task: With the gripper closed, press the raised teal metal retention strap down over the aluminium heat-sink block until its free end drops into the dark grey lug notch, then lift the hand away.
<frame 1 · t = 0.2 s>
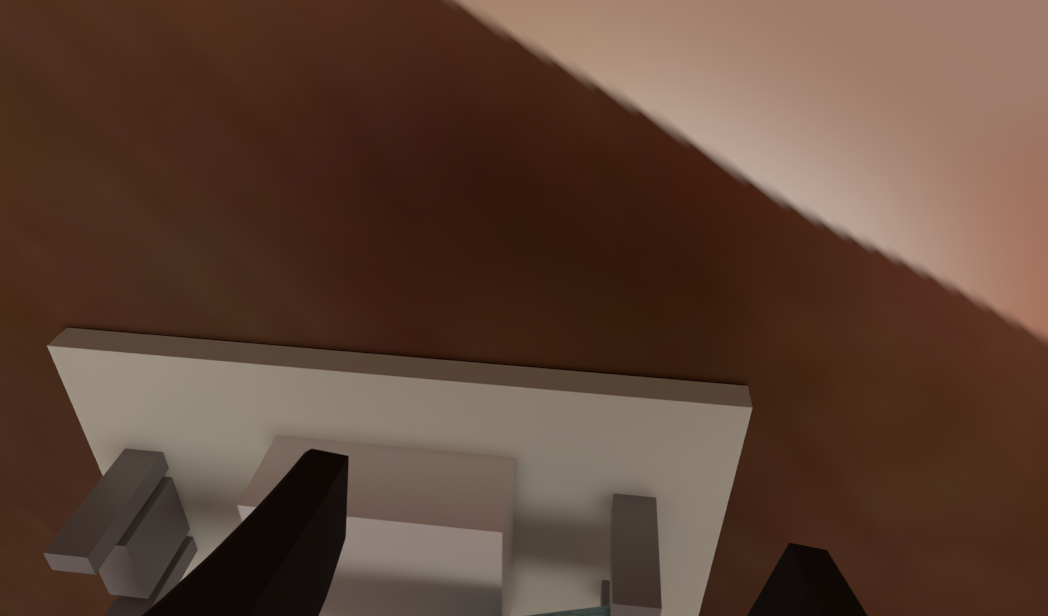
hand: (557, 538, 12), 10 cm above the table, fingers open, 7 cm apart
socket board: (409, 505, 27), on the table
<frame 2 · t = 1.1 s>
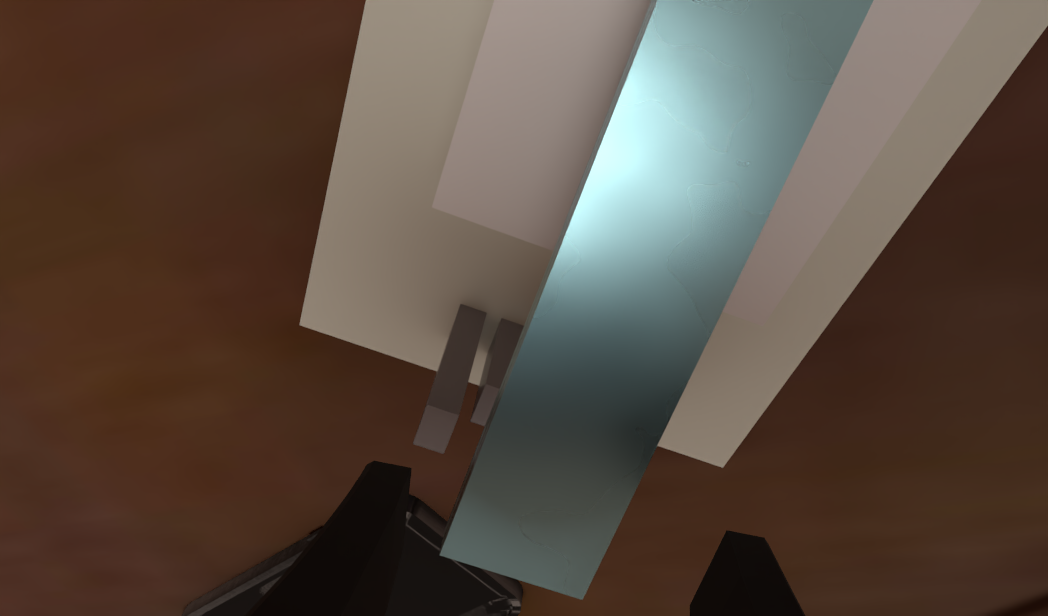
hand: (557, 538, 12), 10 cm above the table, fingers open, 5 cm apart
socket board: (668, 50, 18), on the table
retention strap: (692, 151, 12), point 7 cm above the table, hinge at 15.0°
phone: (348, 591, 32), on the table
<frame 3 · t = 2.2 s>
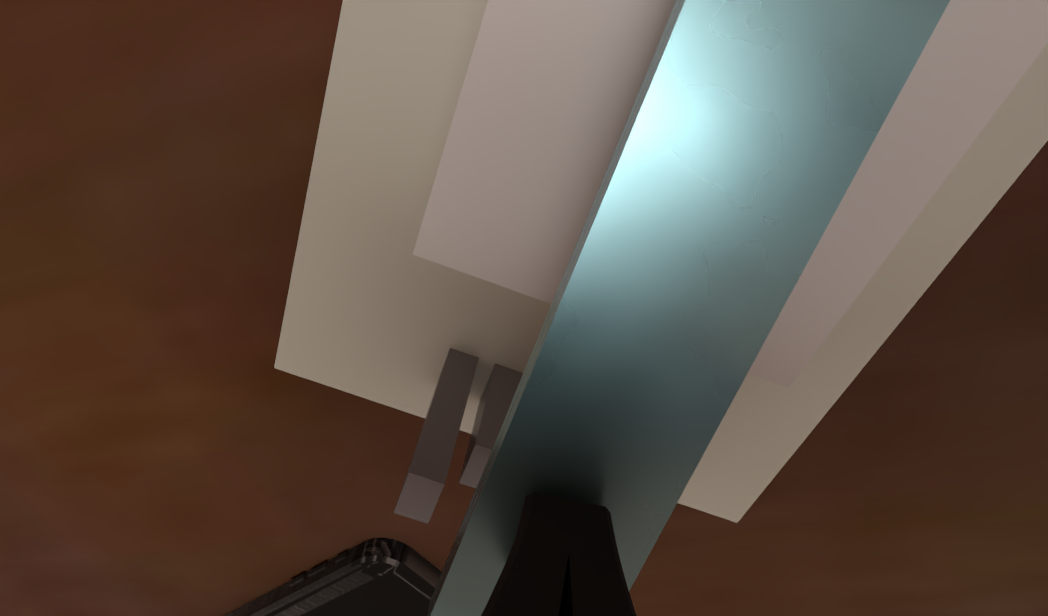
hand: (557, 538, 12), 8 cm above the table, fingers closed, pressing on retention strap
socket board: (682, 73, 16), on the table
retention strap: (710, 202, 10), point 6 cm above the table, hinge at 12.6°, touching gripper
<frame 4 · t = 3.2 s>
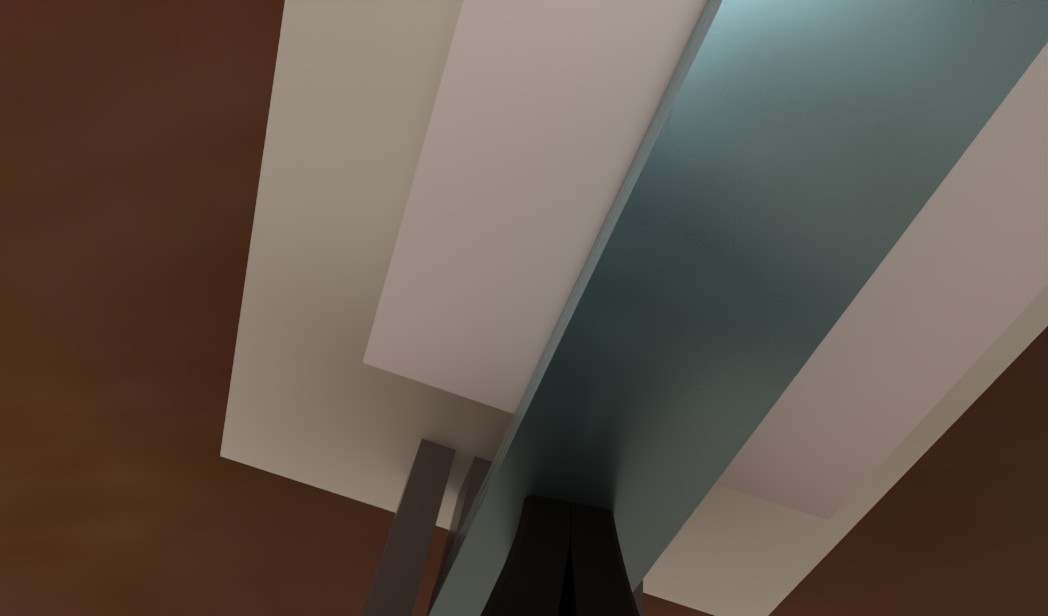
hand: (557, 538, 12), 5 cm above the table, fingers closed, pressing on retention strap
socket board: (697, 130, 13), on the table
retention strap: (717, 269, 9), point 4 cm above the table, hinge at -0.4°, touching gripper, socket board
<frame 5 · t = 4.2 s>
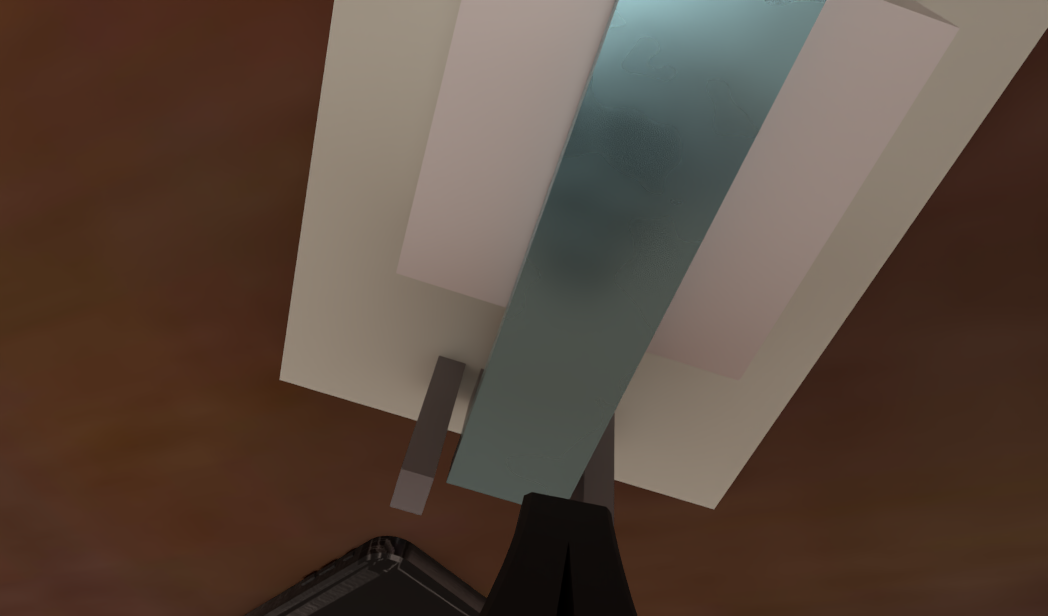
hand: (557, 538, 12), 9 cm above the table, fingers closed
socket board: (635, 100, 17), on the table
retention strap: (635, 186, 14), point 4 cm above the table, hinge at -0.4°, touching socket board
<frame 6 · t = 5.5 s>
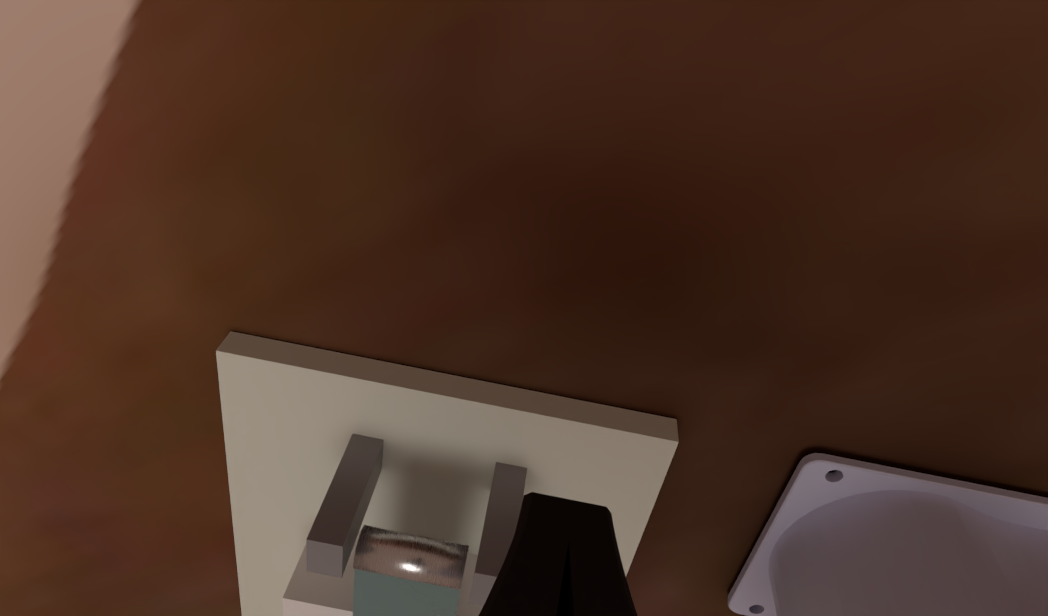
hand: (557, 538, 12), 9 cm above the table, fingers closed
socket board: (423, 588, 29), on the table
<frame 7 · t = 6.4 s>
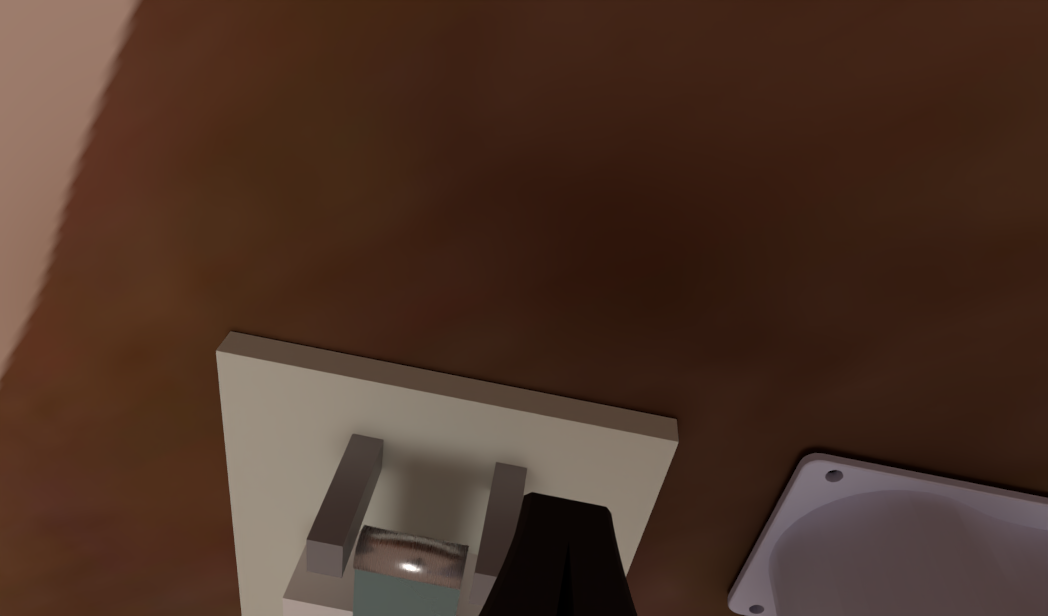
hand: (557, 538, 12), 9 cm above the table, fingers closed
socket board: (423, 588, 29), on the table
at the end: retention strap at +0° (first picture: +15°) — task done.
